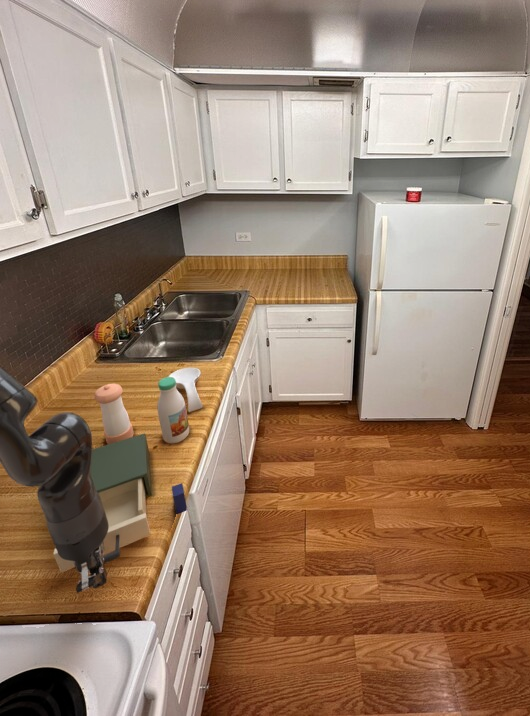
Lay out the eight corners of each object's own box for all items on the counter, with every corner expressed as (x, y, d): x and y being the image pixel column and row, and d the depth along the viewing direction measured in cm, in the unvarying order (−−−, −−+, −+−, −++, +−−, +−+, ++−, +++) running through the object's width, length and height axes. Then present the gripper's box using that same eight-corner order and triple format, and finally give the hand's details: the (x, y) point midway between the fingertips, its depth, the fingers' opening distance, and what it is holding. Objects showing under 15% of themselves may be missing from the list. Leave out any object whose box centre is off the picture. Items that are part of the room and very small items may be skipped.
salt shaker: (120, 426, 106) (107, 376, 99) (139, 431, 104) (127, 380, 97) (100, 443, 99) (85, 390, 92) (119, 449, 97) (105, 396, 90)
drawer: (151, 555, 70) (146, 537, 68) (56, 598, 63) (48, 579, 61) (148, 486, 85) (144, 469, 83) (71, 514, 78) (65, 497, 76)
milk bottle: (163, 447, 98) (151, 392, 91) (163, 429, 105) (152, 376, 97) (190, 439, 101) (181, 385, 94) (188, 422, 108) (180, 370, 100)
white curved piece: (166, 380, 128) (163, 364, 126) (197, 371, 134) (195, 356, 132) (178, 417, 110) (175, 399, 107) (214, 404, 116) (212, 388, 113)
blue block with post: (176, 514, 79) (172, 497, 77) (173, 492, 85) (170, 475, 83) (187, 510, 80) (183, 492, 78) (183, 488, 86) (180, 471, 84)
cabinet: (151, 495, 84) (146, 473, 81) (68, 527, 76) (59, 504, 74) (149, 453, 96) (145, 433, 93) (77, 477, 88) (69, 455, 86)
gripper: (59, 496, 61) (82, 557, 67) (41, 570, 50) (71, 634, 56) (106, 480, 64) (124, 540, 70) (100, 546, 53) (121, 610, 59)
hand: (100, 582), depth 63 cm, fingers closed
